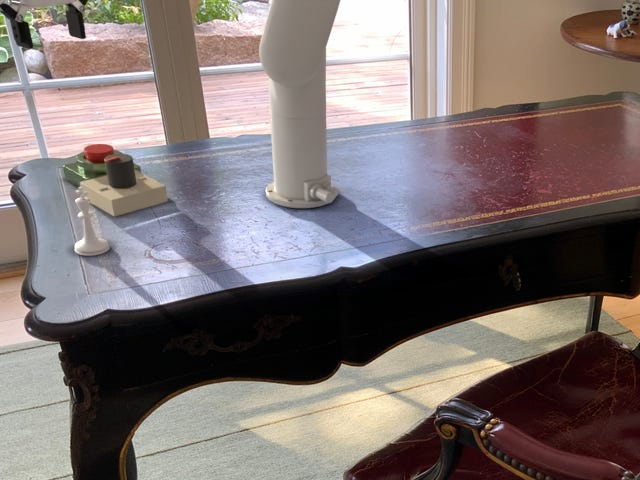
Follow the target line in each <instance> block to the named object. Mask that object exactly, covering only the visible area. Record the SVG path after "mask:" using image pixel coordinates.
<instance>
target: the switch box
mask: <svg viewBox="0 0 640 480" xmlns="http://www.w3.org/2000/svg"><path fill="white" fill-rule="evenodd" d="M114 154H124V152H122V151H120V150H118V149H114ZM75 157H76V159H75V160H76V161H75V162H70V163H66V164H62V169H63V174H64V175H63V176H64V179H65V180H66V181H68V182H70V183H72V184H73V185H75V186H77V188H79V187H80V182H82V181H86V180H90V179H95V178H99V177H103V176H107V171H106V166H105V161H97V162H95V161H88V160H86V158H85V153H84V150H83V151H81V152H80V153H78V154H76V156H75ZM133 164H134V170H136V171H138V172H140V173H142V168H141V165H139V164H137V163H135V162H133Z"/></svg>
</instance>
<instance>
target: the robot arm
mask: <svg viewBox="0 0 640 480" xmlns="http://www.w3.org/2000/svg"><path fill="white" fill-rule="evenodd" d="M8 1H9V3H6V0H0V13H1V14H2V16H4V17H5V19H7V20H9V22H10V27H11V31H12V36H13V39H14V42H15V44H16V46H17V47H21V48H24V49H27V50H31V49H33V48H34V43H33V37H32V33H31V28H30V24H29V22H28V21H27V20H25V18H26V16H27V13H28V12H29V9H30V8H31V9H41V8H48V7H53V6H54V7H56V6H60V5H61V6H62V5H64V6H65V7H66V8H67V9H66V10H65V11H64V12H65V18H66V23H67V28H68V34H69V36H70V37H72V38H73V37H74V38H77V39H80V40H85V39H87V34H86V27H85V21H84V14H83V13H85V12H86V5H87V3H88V1H89V0H8ZM340 3H341V0H271V1H270V3H269V4H270V5H269V8H268V12H267V15H266V20H265V23H264V27H263V31H262V34H261V38H260V42H259V47H258V55H259V61H260V65H261V67H262V69H263V70H264V72H265V74H266V75H267V76H268V101H269V121H270V137H271V153H272V169H273V170H272V171H273V181H272V182H270V183H269V184H268V185H267V186H266V187H265V196H266V198H267V199H268V200H269V201H270V202H271V203H273V204H275V205H278V206H281V207H284V208H285V207H286V208H292V209H312V208H318V207H319V208H320V207H323V206H325V205H328V204H332V203H333V202H334V200H335V199H336V198H337V196H339V194H340V189H339V188H337V187H335V185H334V184H332V179H331V178H332V176H331V175H329V174H328V142H327V141H328V139H327V138H328V137H327V133H328V132H327V45H328V43H329V39H330V36H331V33H332V29H333V27H334V23H335V20H336V17H337V14H338V10H339V7H340Z"/></svg>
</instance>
